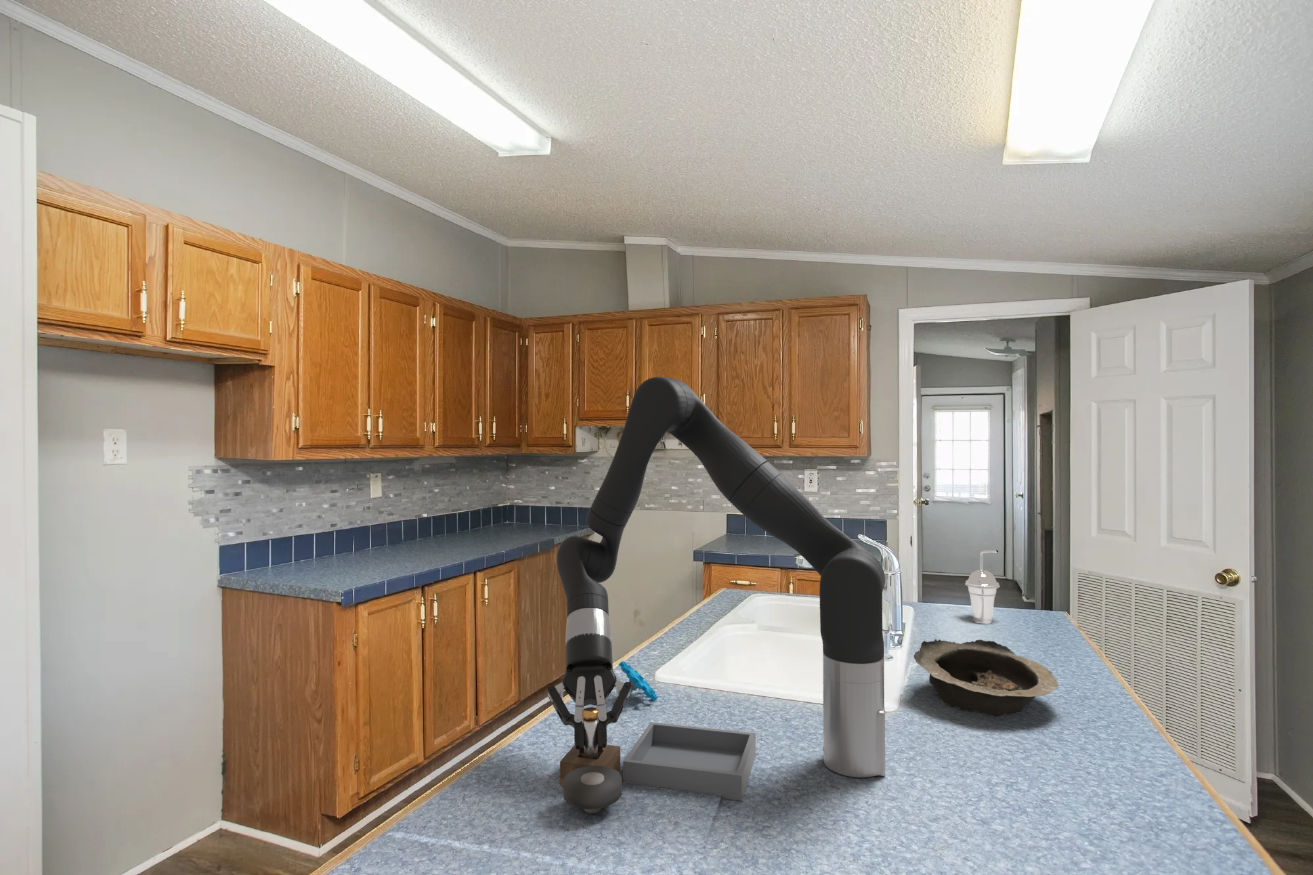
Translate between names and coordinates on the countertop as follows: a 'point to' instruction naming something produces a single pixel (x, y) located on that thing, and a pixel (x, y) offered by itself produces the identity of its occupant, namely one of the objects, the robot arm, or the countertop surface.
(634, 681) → the gear
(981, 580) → the cup with straw
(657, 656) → the countertop surface
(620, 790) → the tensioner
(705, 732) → the tray
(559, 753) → the countertop surface
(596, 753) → the lock pin
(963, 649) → the stone bowl
